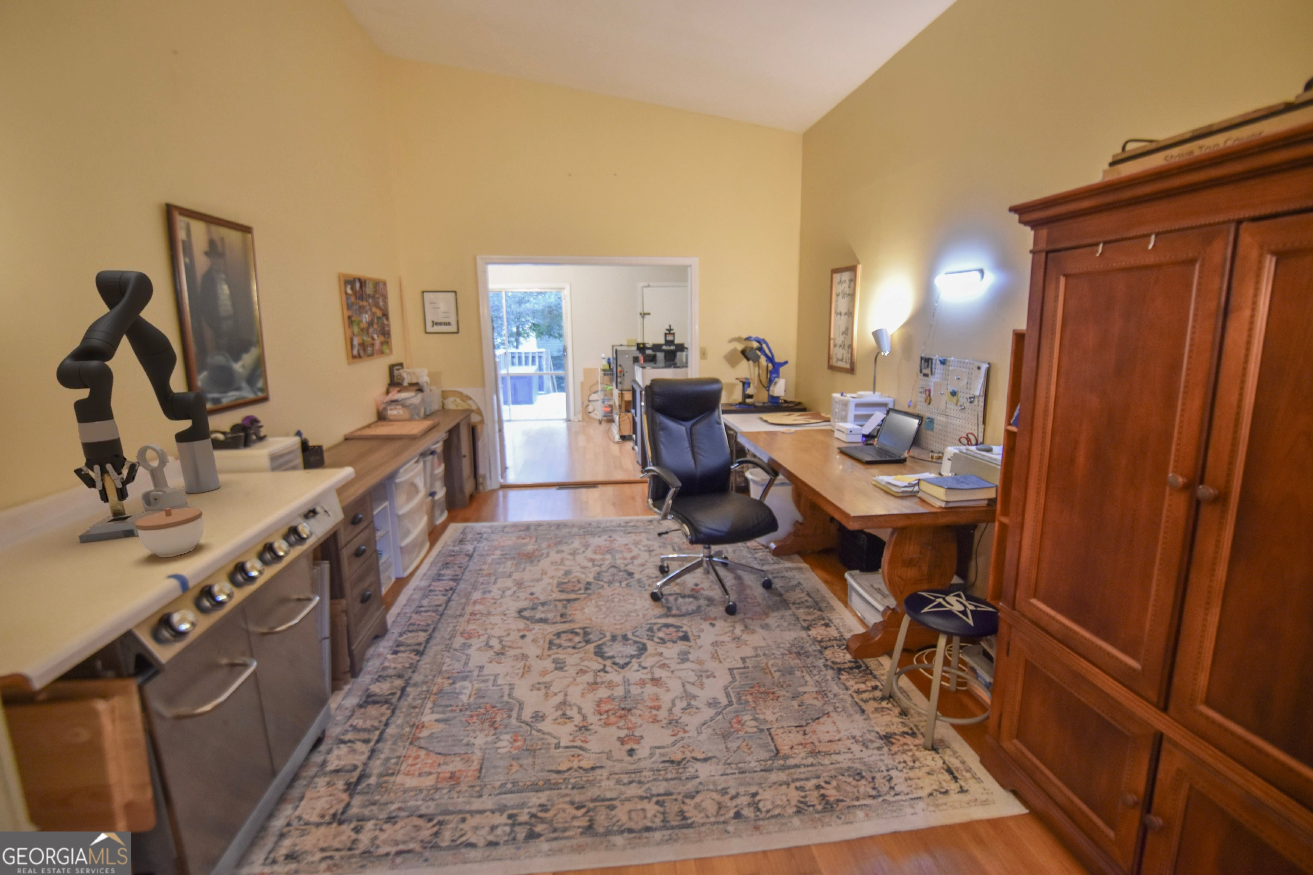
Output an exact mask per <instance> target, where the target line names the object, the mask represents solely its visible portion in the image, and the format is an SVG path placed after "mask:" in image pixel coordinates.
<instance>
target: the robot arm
mask: <svg viewBox="0 0 1313 875" xmlns="http://www.w3.org/2000/svg"><path fill="white" fill-rule="evenodd" d="M94 281H95V287H96V290H97V292H98V294H99V296H100V298H101V300H102V301H103V303H104V304H105V306H106V307H107V309H108V311H107V312H106V313H104V314H103V315H102V316H99V317H98V318H97V319H95V320H94V321H93V322H92V323H91V324H90V325H89V326H88V327H87V329H86V331H85V333H84V334H83V336H82V338H81V340H80V342H79V345H78V346H77V347H75V348H74V349H72V351H71V352H70V353H69V354H67V355H66V356H65V358H63V360H62V361H60V363H59V364H58V367H57V368H56V374H55V375H56V380H57V382H58V383H59V385H61V386H62V387H64V388H65V389H69V390H89V392H88V395H87V397H84V398H81V399H77V400H75V401H74V403H73V410H74V414H75V417H76V419H75V420H76V422H77V429H78V430H77V431H78V435H79V436H78V437H79V441H80V444H81V448H82V452H83V455H84V456H83V457H84V458H85V463H84V465H82V466H80V467H77V468H74V469H73V473H74V474H75V475H76V476H77V477H78V479H80V480H81V482H82V483H83V484H84V485H85V486H86V487H87V488H88V489H95V490H97V491H98V494H99V499H100V501H101V502H103V503H104V504H107V503H108V499H107V494H106V490H105V486H104V482H103V478H102V474H106V473H110V475H111V478H112V480H114V482H115V484H116V486H117V487H118V488H116V489H117V493H118V497H119V501H123V502H124V501H126V500H127V498H129V490H128V488H127V486H128V485H130V484H132V483H134V482H135V480H136V476H137V473H138V470H139V467H140V466H139V465H140V463H139V462H138V461H130V460H128V459H127V458H126V456H125V455H124V449H123V445H122V441H121V436H120V433H119V432H120V431H119V428H118V425H117V422H116V420H115V415H114V413H113V412H114V411H113V408H112V397H113V396H112V395H113V387H114V372H113V370H112V368H111V367H110V366H109V365H108V364H107V362H109V361H111V360H113V358H114V356H115V355H116V353H117V351H118V348H119V346H120V344H121V342H122V340H123V338H124V336H125V337H126V339H127V341H128V343H129V345H130V347H131V350H132V351H133V353H134V355H135V356H136V359H137V360H138V362H139V365H140V366H141V367H142V370H143V371H144V373H145V375H146V377H147V379H148V380H149V382H150V384H151V387H152V389H153V392H154V394H155V397H156V399H157V402H158V404H159V407H160V409H161V411H162V413H163V415H164V416H165V418H167V419H168V420H169V421H172V422H173V421H189V420H190V421H191V424H190V426H189V427H187V428H185V429H183V430H180V431H177V432H176V433H175V434H174V439H175V440H174V441H175V444H176V449H177V450H176V451H177V454H178V460H179V463H180V469H181V473H182V478H183V482H184V489H185V493H187V494H199V493H205V492H210V491H214V490H217V489H219V488H221V483H220V478H219V473H218V468H217V467H218V466H217V463H216V458H215V454H214V453H215V452H214V448H213V444H212V439H211V434H210V433H211V432H210V424H209V416H208V409H207V403H206V402H207V401H206V399H205V397H204V395H203V394H202V393H201V392H200V391H197V390H195V391H194V390H193V391H191V390H190V391H179V392H178V391H177V392H175V391H174V390H173V389H172V387H171V383H170V381H171V378H172V374H173V372H174V370H175V367H176V364H177V362H178V361H177V360H178V359H177V358H178V357H177V354H176V352H175V348H173V345H172V343H171V340H169V337H168V336H167V335H166V334H165V333H164V332H162V331H161V330H160V329H159V328H157V327H156V326H154V325H153V324H152V323H150V322H149V321H148V320H147V319H145V318H144V317H143V316H141V315H140V314H141V313H142V312H143V311H144V309H145V308H146V307H147V306H148V305H149V303H150V301H151V299H152V297H153V294H154V285H153V283H152V280H151V279H150V277H149V276H148V275H147V274H146V273H144V272H141V271H136V270H122V269H121V270H119V269H118V270H116V269H115V270H113V269H112V270H109V269H106V270H105V269H104V270H100V271H98V272H97V273H96V275H95V280H94ZM125 466H126V468H125ZM124 468H125V469H126V470H127V472H126V474H125V473H124V471H123V469H124ZM90 471H91V472H92V473H93V474H94V477H93V476H92V475H91V474H90ZM125 475H126V476H125ZM108 504H109V503H108Z"/></svg>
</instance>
